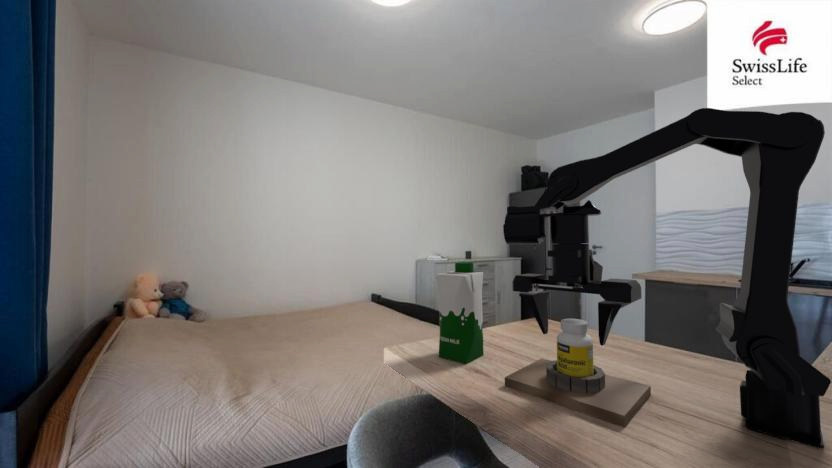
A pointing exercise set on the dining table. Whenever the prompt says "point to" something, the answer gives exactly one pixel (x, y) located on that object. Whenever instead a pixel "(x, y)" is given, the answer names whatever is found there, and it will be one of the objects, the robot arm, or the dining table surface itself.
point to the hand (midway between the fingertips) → (572, 338)
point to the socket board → (585, 403)
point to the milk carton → (460, 313)
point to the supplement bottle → (574, 349)
